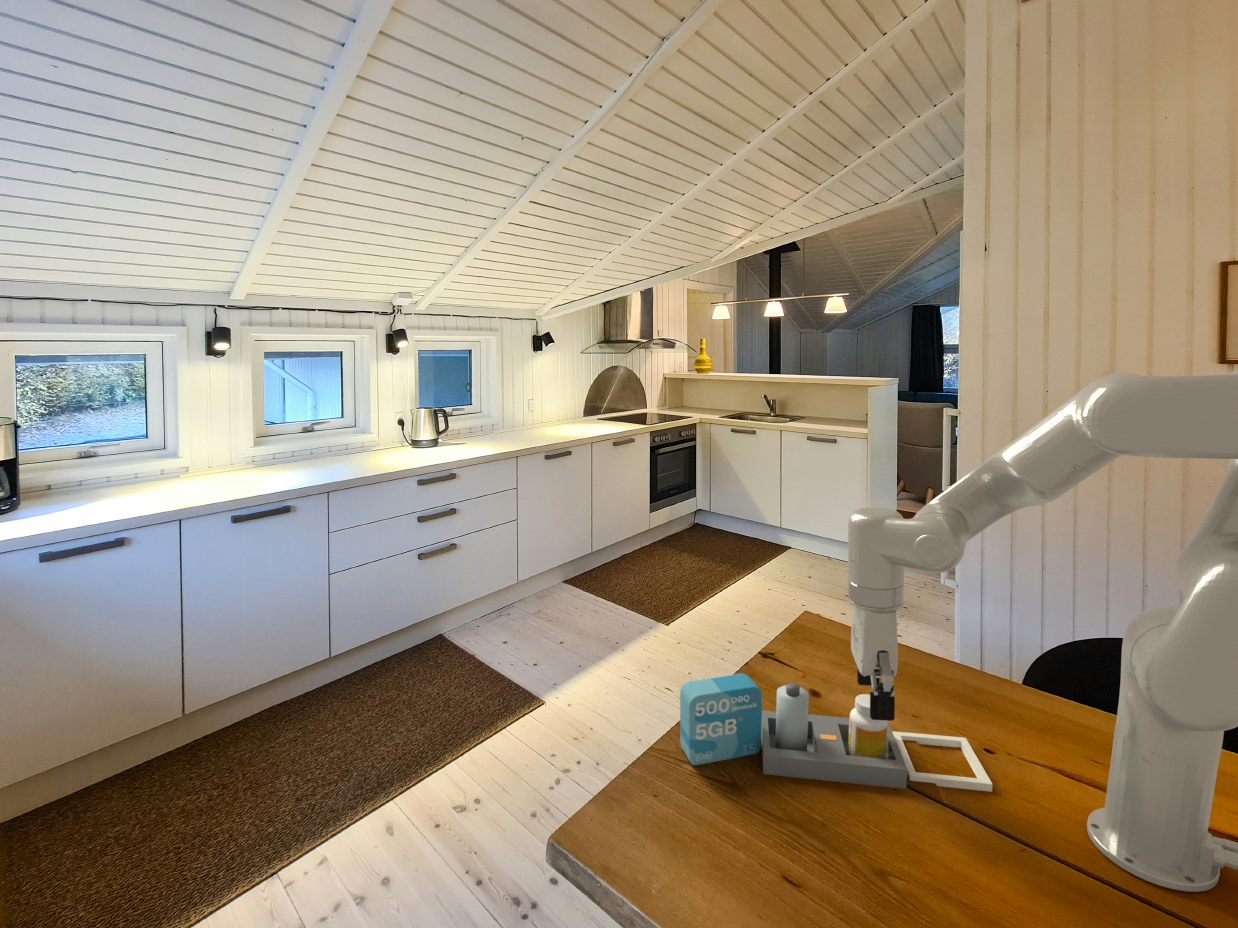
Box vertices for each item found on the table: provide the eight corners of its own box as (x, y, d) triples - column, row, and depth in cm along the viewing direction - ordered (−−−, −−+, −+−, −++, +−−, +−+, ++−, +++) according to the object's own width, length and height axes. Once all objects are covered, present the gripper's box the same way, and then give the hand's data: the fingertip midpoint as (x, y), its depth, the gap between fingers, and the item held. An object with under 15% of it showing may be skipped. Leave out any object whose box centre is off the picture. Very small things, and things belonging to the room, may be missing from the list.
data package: (689, 769, 95) (689, 697, 93) (679, 751, 99) (679, 682, 97) (761, 755, 98) (762, 685, 96) (748, 738, 102) (749, 671, 100)
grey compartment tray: (886, 740, 101) (887, 720, 100) (905, 791, 89) (907, 768, 88) (760, 729, 104) (761, 709, 104) (763, 776, 93) (763, 754, 92)
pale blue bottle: (805, 743, 99) (807, 679, 97) (808, 762, 95) (810, 695, 93) (774, 740, 100) (776, 676, 98) (776, 759, 96) (777, 693, 94)
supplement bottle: (893, 765, 94) (896, 706, 92) (863, 773, 92) (866, 713, 90) (868, 744, 99) (871, 688, 97) (840, 751, 97) (843, 694, 96)
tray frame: (964, 744, 99) (965, 737, 99) (991, 791, 89) (992, 784, 88) (891, 737, 101) (892, 731, 101) (909, 783, 91) (910, 775, 90)
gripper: (839, 572, 100) (839, 672, 102) (859, 615, 83) (859, 732, 86) (889, 573, 98) (888, 673, 101) (919, 616, 82) (917, 736, 84)
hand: (874, 700), depth 93 cm, fingers open, 9 cm apart
